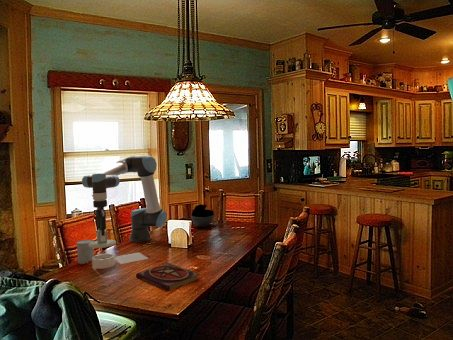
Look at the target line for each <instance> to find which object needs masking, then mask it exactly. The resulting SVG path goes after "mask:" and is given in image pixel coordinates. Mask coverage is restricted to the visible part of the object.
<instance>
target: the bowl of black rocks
mask: <svg viewBox="0 0 453 340" xmlns="http://www.w3.org/2000/svg"><path fill="white" fill-rule="evenodd" d="M207 207H208V205H207V204H197V205H196V206H195V207H194V209H193V210H192V212H191V216H190V218H191V221H192V222H193V224H194V225H195V226H197V227H201V228H206V227H208V226H210V225H212V223H213V222H214V220H215V216H216V215H215V212H214V210H213V209H206V208H207Z"/></svg>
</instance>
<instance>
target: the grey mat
mask: <svg viewBox="0 0 453 340" xmlns="http://www.w3.org/2000/svg"><path fill="white" fill-rule="evenodd" d="M144 260H149V257H147V256H146V255H144V254H142V252H139V251H138V252H134V253H128V254H123V255H118V256H115V262H117V263H118V264H120V265H123V264H128V263H133V262H139V261H144Z"/></svg>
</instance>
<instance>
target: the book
mask: <svg viewBox="0 0 453 340" xmlns="http://www.w3.org/2000/svg"><path fill="white" fill-rule="evenodd" d="M199 275H200V276H201V273H198V272H195V271H194V270H192V269H191V270H190V269H187V268H183V267H181V266H179V265H176V264H171V263H169V262H167V263H164V264H161V265H157V266H154V267H152V268H148V269H145V270H143V271H140V272H137V273H136V275H135V278H136V279H139V280H141V281H144V282H146V283H149V284H151V285H153V286H155V287H158V288H160V289H162V290H164V291H167V292H170V291H171V290H174V289H175V288H178V287H181V286H183V285H186V284H189V283H194V282H197V281H200V280H201V278H199V277H198V276H199Z"/></svg>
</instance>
